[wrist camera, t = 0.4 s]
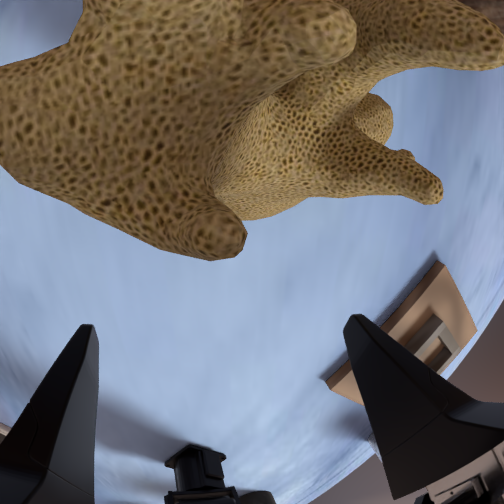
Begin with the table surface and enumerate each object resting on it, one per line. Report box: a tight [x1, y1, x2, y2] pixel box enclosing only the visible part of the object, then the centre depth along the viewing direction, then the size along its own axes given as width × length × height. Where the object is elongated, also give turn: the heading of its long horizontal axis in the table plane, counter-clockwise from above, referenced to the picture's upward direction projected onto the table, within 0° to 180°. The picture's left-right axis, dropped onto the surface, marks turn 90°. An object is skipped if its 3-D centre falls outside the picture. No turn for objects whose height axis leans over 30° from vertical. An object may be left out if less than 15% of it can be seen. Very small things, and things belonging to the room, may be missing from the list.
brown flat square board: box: [326, 260, 477, 406], centre depth 37 cm, size 20×20×4 cm
